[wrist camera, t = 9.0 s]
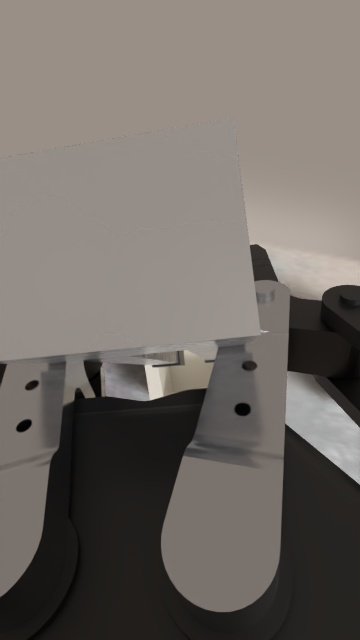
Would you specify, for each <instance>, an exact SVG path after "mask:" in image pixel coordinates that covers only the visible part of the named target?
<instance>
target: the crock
mask: <svg viewBox="0 0 360 640" xmlns="http://www.w3.org/2000/svg"><path fill="white" fill-rule="evenodd" d="M184 360H185V365H184V366H173V367H162V368H152V365H145V371H146V377H147V384H148V390H149V396H150V400H153V399H157V398H160V397H164V396H167V395H171V394H174V393H178V392H181V391H185V390H189V389H201V388H207V387H208V383H209V380H210V376H211V372H212V369H213V365H214V363H205V359H203V358H201V357H199V356H197V355H196V354H194V353H192V352H190V351H188V350H184Z"/></svg>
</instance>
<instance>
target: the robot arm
mask: <svg viewBox="0 0 360 640" xmlns="http://www.w3.org/2000/svg"><path fill="white" fill-rule="evenodd" d="M250 252H251V260H252V268H253V276H254V284H255V292H256V300H257V308H258V315H259V323H260V331H261V336H259V337H258V338H257V339H256V340H255V341H254V342H253V343H252V344H243V345H233V346H222V347H218V350H217V354H216V358H215V361H214V365H213V369H212V372H211V376H210V380H209V383H208V387H207V388H201V389H189V390H185V391H181V392H178V393H174V394H171V395H167V396H164V397H160V398H157V399H153V400H150V401H136V400H129V399H122V398H115V397H108V396H106V388H105V373H104V371H103V368H102V363H103V362H90V361H83V360H77V361H67V362H57V363H46V364H1V363H0V640H360V485H359V484H358V483H357V482H356V481H355V480H353V479H352V478H351V477H350V476H348V475H347V474H346V473H345V472H344V471H342V470H341V469H340V468H339V467H338V466H336V465H335V464H334V463H333V462H331V461H330V460H329V459H328V458H327V457H325V456H324V455H323V454H322V453H320V452H319V451H318V450H317V449H316V448H314V447H313V446H312V445H311V444H309V443H308V442H307V441H306V440H305V439H303V438H302V437H301V436H300V435H299V434H297V433H296V432H295V431H294V430H292V429H291V428H290V427H289V426H288V425H286V424H285V413H286V388H287V371H293V372H299V373H306V374H312V375H314V377H315V379H316V381H317V382H318V383H319V384H320V386H321V387H322V388H323V389H324V390H325V391H326V392H327V393H328V394H329V395H330V396H331V397H332V398H333V399H334V401H335V402H336V403H337V404H338V405H339V406H340V407H341V408H342V409H343V410H344V411H345V412H346V413H347V414H348V415H349V417H350V418H351V419H352V420H353V421H354V422H355V423H356V424H357V425H358V426H359V427H360V286H355V285H341V286H336V287H333V288H330V289H328V290H327V291H326V292H324V294H323V296H322V301H318V300H306V299H300V298H296V297H293V296H291V295H290V290H289V288H288V287H287V286H285V285H284V284H282V283H280V282H278V279H277V277H276V275H275V272H274V270H273V267H272V265H271V262H270V260H269V258H268V255H267V252H266V250H265V249H263V248H262V247H260V246H259V245H257V244H255V245H250Z"/></svg>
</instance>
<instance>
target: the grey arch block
mask: <svg viewBox="0 0 360 640" xmlns="http://www.w3.org/2000/svg"><path fill="white" fill-rule="evenodd" d="M259 336H261V331H260V323H259V315H258V308H257V300H256V292H255V284H254V276H253V268H252V260H251V252H250V244H249V236H248V229H247V221H246V212H245V204H244V196H243V188H242V180H241V173H240V164H239V156H238V148H237V140H236V133H235V125H234V118H230V119H224V120H218V121H212V122H206V123H200V124H195V125H189V126H184V127H177V128H171V129H166V130H160V131H154V132H148V133H142V134H137V135H131V136H125V137H119V138H113V139H108V140H102V141H96V142H91V143H84V144H79V145H72V146H67V147H61V148H55V149H49V150H43V151H38V152H32V153H26V154H20V155H15V156H8V157H3V158H0V363H1V364H46V363H57V362H67V361H77V360H83V361H90V362H107V363H124V364H141V365H152V368H162V367H173V366H184V365H185V360H184V350H188V351H190V352H192V353H194V354H196V355H197V356H199V357H201V358H203V359H205V363H214V361H215V358H216V354H217V350H218V347H222V346H233V345H243V344H252V343H253V342H254V341H255V340H256V339H257V338H258V337H259Z"/></svg>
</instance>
